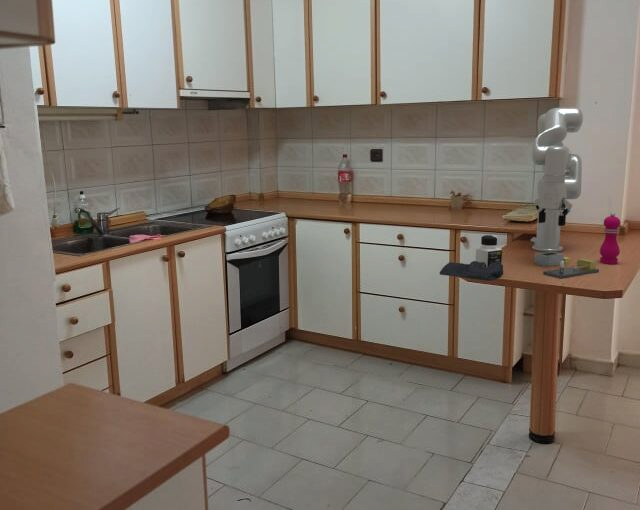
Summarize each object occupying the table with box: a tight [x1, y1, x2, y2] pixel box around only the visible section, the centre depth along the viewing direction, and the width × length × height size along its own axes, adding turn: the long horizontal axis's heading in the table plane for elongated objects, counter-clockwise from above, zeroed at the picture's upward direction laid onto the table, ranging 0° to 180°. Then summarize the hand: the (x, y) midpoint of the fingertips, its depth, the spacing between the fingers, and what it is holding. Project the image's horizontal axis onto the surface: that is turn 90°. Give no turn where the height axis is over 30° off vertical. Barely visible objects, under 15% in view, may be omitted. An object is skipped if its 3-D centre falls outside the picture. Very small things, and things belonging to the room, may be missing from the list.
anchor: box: [563, 256, 571, 265], centre depth 254 cm, size 6×3×3 cm, turn 28°
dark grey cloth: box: [439, 260, 504, 281], centre depth 236 cm, size 15×22×5 cm
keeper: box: [542, 257, 600, 279], centre depth 235 cm, size 8×20×5 cm, turn 118°
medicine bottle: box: [475, 234, 503, 267], centre depth 247 cm, size 7×7×12 cm
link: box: [534, 251, 565, 268], centre depth 251 cm, size 6×9×4 cm, turn 118°
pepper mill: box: [599, 211, 621, 265], centre depth 251 cm, size 7×7×20 cm
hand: (551, 224), depth 248 cm, fingers open, 9 cm apart
